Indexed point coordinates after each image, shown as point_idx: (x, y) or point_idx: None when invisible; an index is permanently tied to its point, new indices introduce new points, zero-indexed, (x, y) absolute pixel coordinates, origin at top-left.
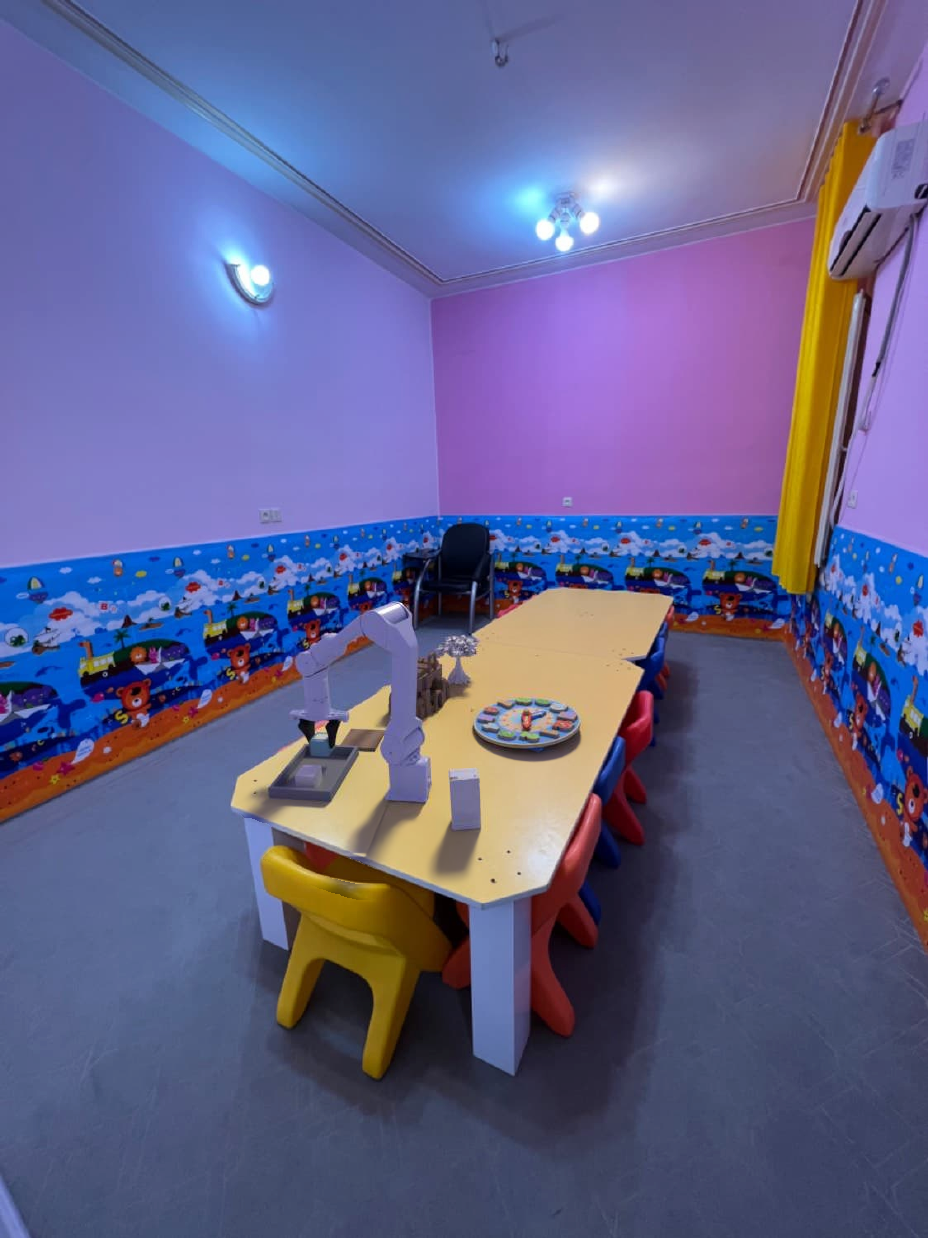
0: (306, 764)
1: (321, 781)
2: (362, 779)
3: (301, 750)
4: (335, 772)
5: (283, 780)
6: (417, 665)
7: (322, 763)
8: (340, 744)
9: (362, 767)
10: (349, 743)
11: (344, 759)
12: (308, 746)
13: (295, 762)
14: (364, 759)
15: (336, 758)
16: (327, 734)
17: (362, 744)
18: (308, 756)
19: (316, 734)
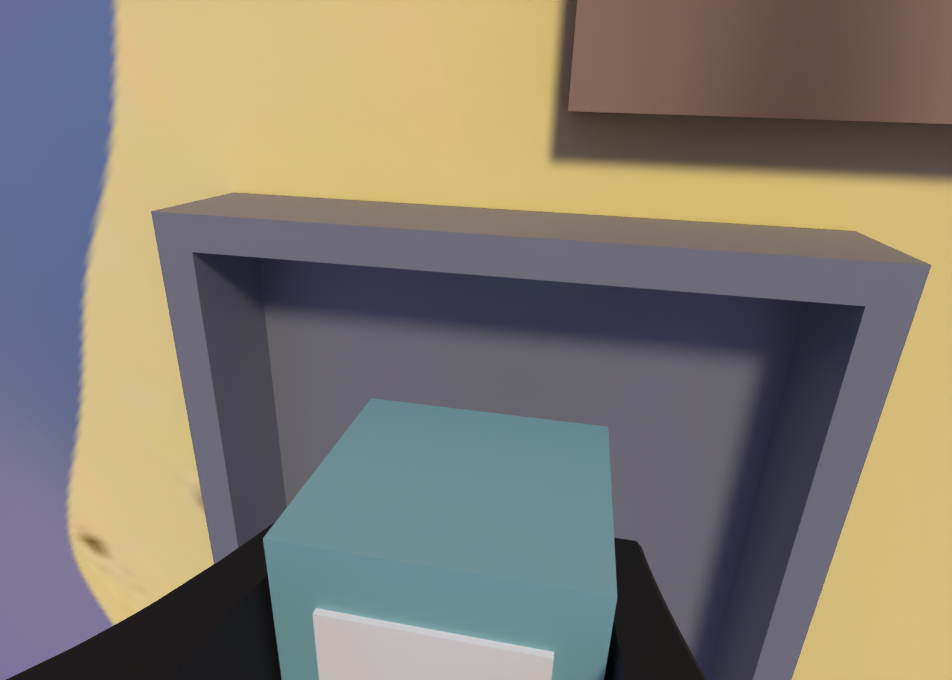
0: (337, 411)
1: None
2: (914, 610)
3: (199, 363)
4: (647, 540)
5: None
6: None
7: (477, 402)
8: (574, 42)
9: (907, 442)
10: (706, 1)
11: (691, 341)
12: (221, 249)
13: (250, 493)
14: (927, 296)
15: (593, 317)
16: (508, 657)
17: (929, 16)
18: (289, 281)
19: (297, 607)
